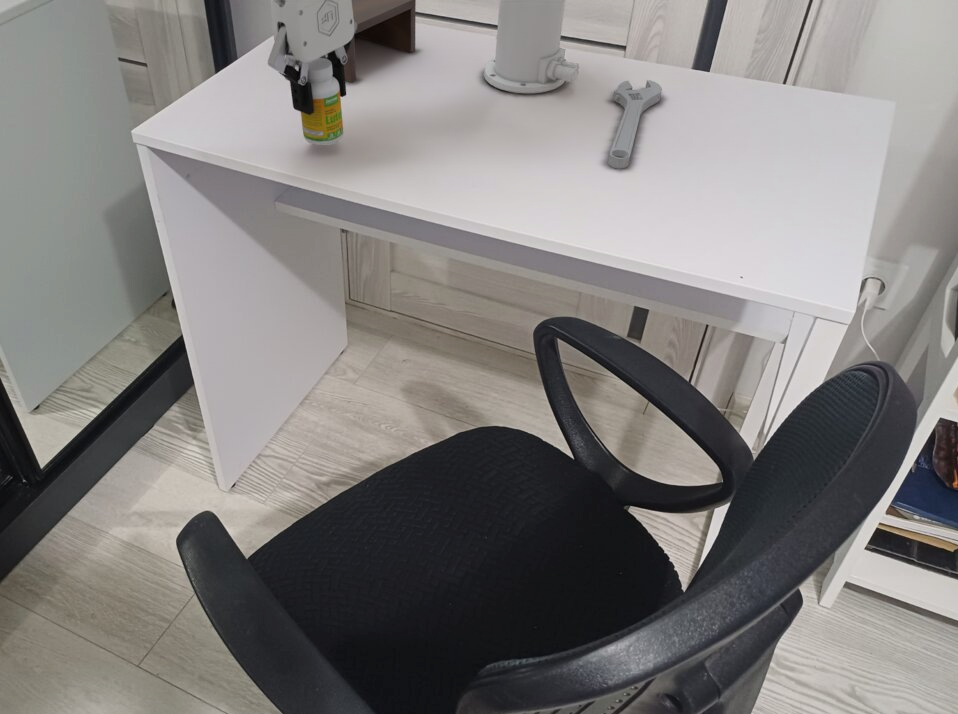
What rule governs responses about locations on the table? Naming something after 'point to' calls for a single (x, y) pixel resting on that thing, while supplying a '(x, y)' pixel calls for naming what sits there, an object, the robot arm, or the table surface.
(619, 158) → the adjustable wrench
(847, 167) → the table surface
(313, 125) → the supplement bottle
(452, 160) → the table surface
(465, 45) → the table surface
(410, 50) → the shelf
